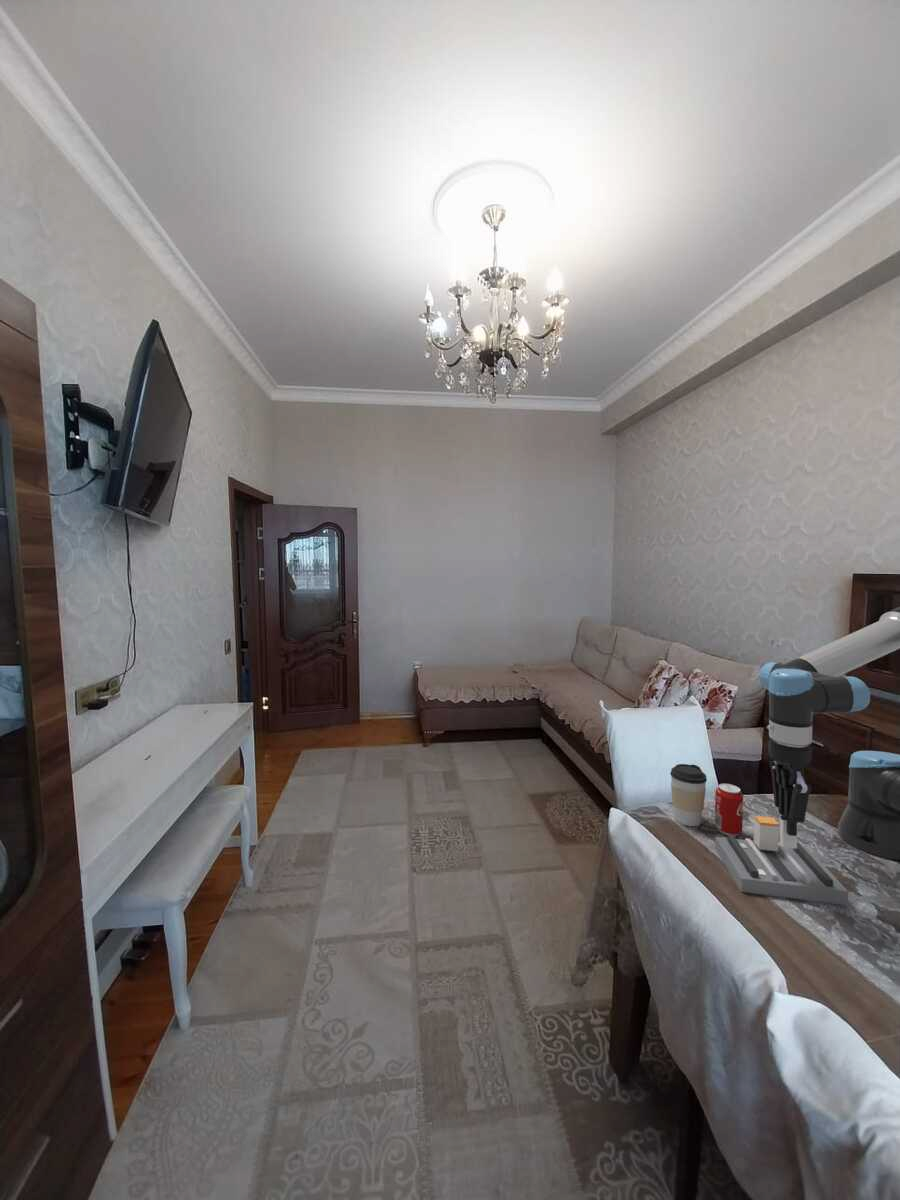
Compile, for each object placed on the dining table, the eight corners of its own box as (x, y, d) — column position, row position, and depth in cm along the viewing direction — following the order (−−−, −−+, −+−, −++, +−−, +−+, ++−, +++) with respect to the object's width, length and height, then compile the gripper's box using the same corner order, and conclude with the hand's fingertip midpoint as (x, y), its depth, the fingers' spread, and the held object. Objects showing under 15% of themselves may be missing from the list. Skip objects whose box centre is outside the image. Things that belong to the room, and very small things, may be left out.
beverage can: (746, 839, 119) (747, 794, 119) (719, 836, 121) (720, 792, 120) (736, 826, 126) (737, 783, 125) (710, 823, 127) (712, 781, 126)
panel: (805, 858, 111) (806, 842, 111) (847, 905, 96) (848, 886, 96) (715, 848, 116) (715, 833, 115) (740, 891, 100) (741, 874, 100)
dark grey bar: (798, 859, 111) (799, 842, 111) (833, 900, 97) (834, 880, 97) (789, 858, 111) (790, 841, 111) (823, 899, 98) (824, 879, 97)
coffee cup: (689, 831, 123) (691, 777, 122) (662, 815, 131) (663, 764, 130) (713, 824, 127) (714, 771, 126) (684, 808, 135) (686, 758, 134)
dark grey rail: (733, 852, 114) (734, 835, 114) (759, 891, 100) (759, 871, 100) (725, 851, 114) (726, 834, 114) (749, 890, 101) (750, 870, 100)
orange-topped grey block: (772, 844, 111) (773, 817, 111) (778, 851, 109) (779, 824, 108) (753, 842, 112) (754, 815, 112) (759, 849, 109) (760, 822, 109)
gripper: (757, 730, 107) (756, 828, 108) (785, 752, 94) (783, 862, 96) (793, 731, 105) (792, 830, 107) (827, 754, 93) (825, 866, 94)
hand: (788, 845), depth 101 cm, fingers closed
